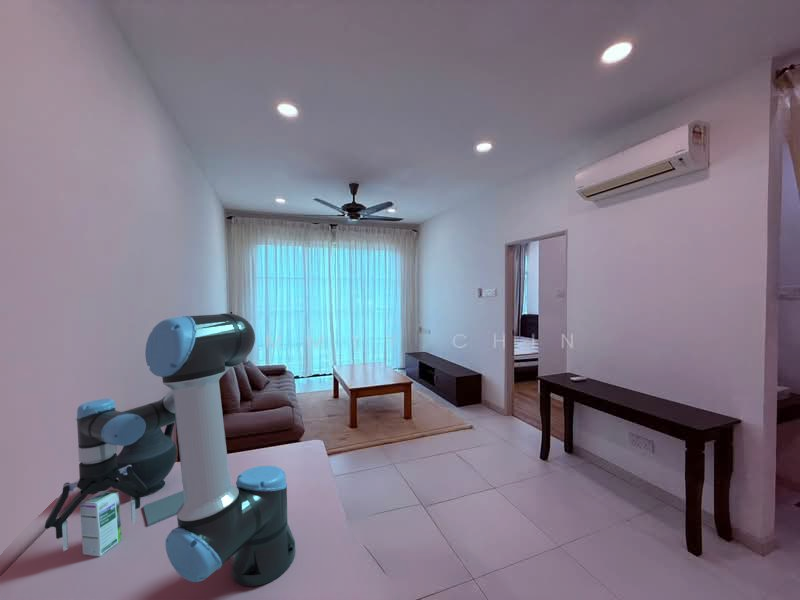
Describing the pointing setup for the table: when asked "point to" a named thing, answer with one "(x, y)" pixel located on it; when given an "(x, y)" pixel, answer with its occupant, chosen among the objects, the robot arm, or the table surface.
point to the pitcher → (149, 459)
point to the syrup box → (100, 522)
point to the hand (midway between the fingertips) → (101, 533)
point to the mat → (163, 508)
